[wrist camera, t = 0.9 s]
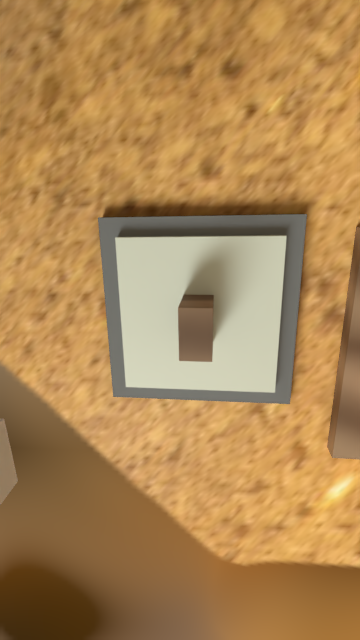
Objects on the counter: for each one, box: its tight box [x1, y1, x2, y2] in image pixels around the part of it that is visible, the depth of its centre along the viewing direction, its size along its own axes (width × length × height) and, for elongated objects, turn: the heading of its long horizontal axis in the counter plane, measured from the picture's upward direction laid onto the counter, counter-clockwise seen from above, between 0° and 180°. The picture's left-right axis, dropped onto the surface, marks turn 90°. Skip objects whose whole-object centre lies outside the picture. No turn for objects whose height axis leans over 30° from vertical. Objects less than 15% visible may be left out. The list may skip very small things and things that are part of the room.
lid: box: [115, 235, 287, 393], centre depth 26 cm, size 13×13×5 cm
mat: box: [98, 214, 307, 404], centre depth 29 cm, size 16×16×1 cm
